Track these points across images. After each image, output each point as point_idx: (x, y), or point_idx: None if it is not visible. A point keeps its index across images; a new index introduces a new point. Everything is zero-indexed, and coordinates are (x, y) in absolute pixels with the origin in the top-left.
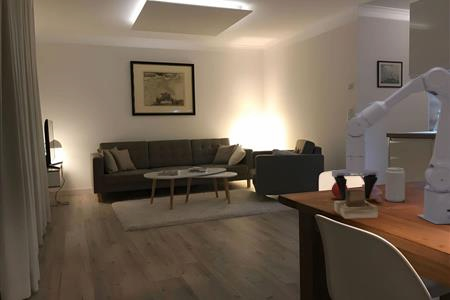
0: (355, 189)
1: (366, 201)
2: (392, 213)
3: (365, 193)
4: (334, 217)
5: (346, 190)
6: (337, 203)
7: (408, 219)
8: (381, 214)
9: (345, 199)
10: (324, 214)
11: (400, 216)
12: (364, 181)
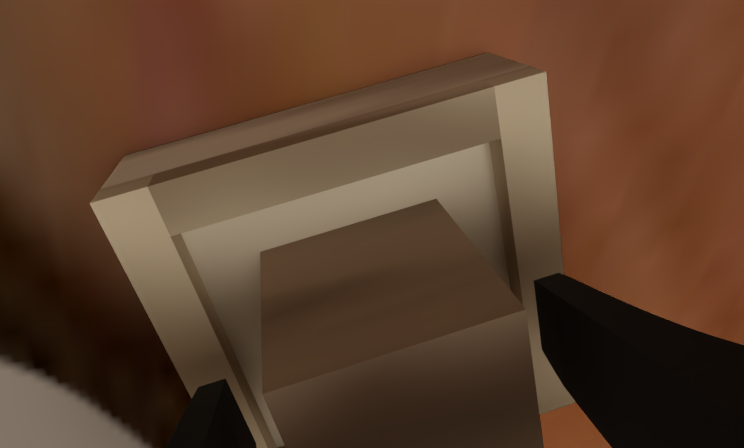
0: (451, 348)
1: (549, 158)
2: (710, 159)
3: (572, 331)
4: (153, 411)
5: (278, 428)
6: (152, 315)
7: (730, 324)
8: (599, 216)
9: (261, 291)
10: (32, 336)
11: (721, 251)
12: (722, 422)
